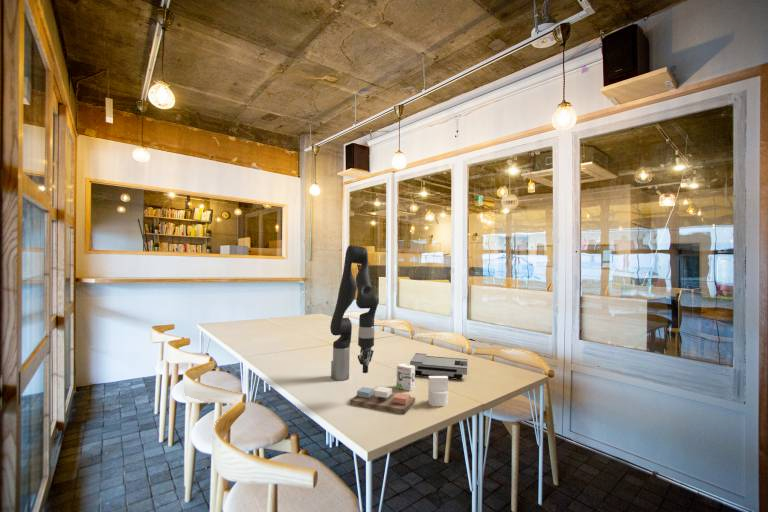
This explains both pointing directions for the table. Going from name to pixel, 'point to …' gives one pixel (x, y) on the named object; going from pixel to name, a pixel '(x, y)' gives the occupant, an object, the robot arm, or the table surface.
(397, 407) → the key panel
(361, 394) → the slate-blue key
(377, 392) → the off-white key
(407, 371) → the ink box
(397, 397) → the rust key
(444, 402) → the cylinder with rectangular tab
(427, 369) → the game console
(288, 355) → the table surface
